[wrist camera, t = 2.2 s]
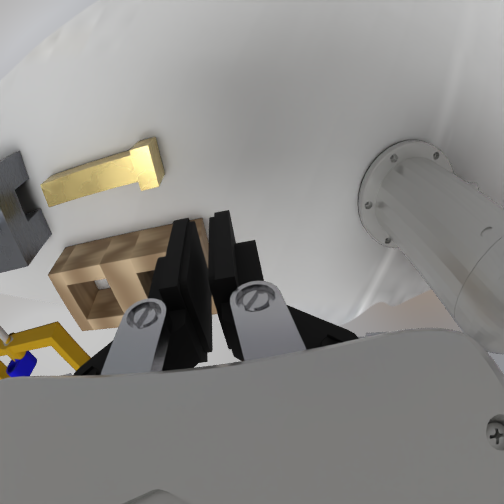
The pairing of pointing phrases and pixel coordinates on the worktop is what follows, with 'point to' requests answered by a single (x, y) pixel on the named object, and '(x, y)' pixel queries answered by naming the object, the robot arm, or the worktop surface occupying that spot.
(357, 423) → the robot arm
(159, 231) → the rack
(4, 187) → the socket block
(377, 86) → the worktop surface
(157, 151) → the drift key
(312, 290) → the worktop surface
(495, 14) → the worktop surface
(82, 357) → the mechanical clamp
